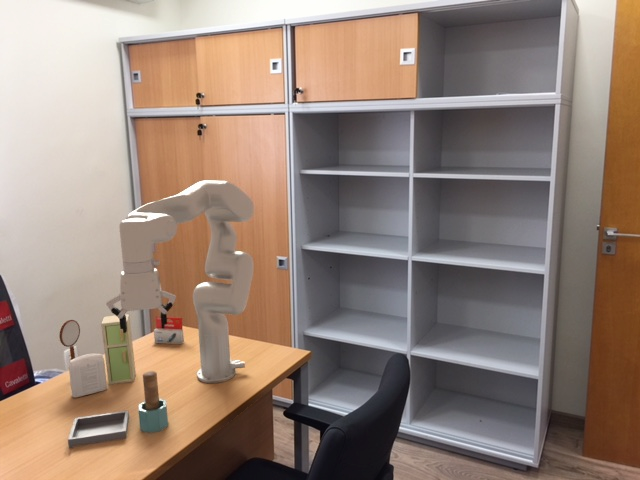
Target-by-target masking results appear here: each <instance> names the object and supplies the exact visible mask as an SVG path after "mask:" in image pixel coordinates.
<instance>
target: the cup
mask: <svg viewBox="0 0 640 480" xmlns="http://www.w3.org/2000/svg"><path fill="white" fill-rule="evenodd" d="M159 405H160V408H158V409H157V410H150V411H147V410H146V405H145V400H144V401H142V402H141V403H139V404H138V411H137V412H138V420H139V428H140V429H139V430H140V431H141V432H143V433H148V434H150V433H151V434H152V433H157V432H161V431H162V430H164V429H166V428H167V427H168V426H169V417H168V403H167V400H166V399H162V398H160V397H159Z"/></svg>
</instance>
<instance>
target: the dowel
mask: <svg viewBox="0 0 640 480" xmlns="http://www.w3.org/2000/svg"><path fill="white" fill-rule="evenodd" d="M157 373H158V372H156V371H151V370H150V371H147V372H144V373H143V374H142V380H143V382H142V383H143V392H144V401H145V405H146V410H147V411H150V410H157V409H158V408H160V405H159V398H160V394H159V385H158V384H159V383H158V374H157Z"/></svg>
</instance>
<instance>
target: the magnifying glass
mask: <svg viewBox="0 0 640 480" xmlns="http://www.w3.org/2000/svg"><path fill="white" fill-rule="evenodd" d="M59 330H60V331H59V341H60V343H61V345H63V346H64V347H67V348H69V351H70V353H69V354H70V361H71V360H72V359H74V358H76V356H75V355H76V353H75V347H74V345H75V344H76V343H77V342H78V340H79V338H80V333H81V328H80V324H79V323H78V321H76V320H74V319H69V320H66V321H65V322H64V323H63V324H62V326H61V328H60V329H59Z"/></svg>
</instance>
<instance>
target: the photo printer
mask: <svg viewBox="0 0 640 480" xmlns="http://www.w3.org/2000/svg"><path fill="white" fill-rule="evenodd" d="M105 366H106V362H105V359H104V357H103V354H102V353H87V354H83V355H79V356H77V357H75V358H74V359H72V360H71V359H70V360H69V365H68V371H69V381H70V389H71V396H72V397H73V398H79V397H83V396H88V395H92V394H96V393H99V392H103V391H105V390H107V388H108V385H107V374H106V373H107V372H106V367H105Z"/></svg>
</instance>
